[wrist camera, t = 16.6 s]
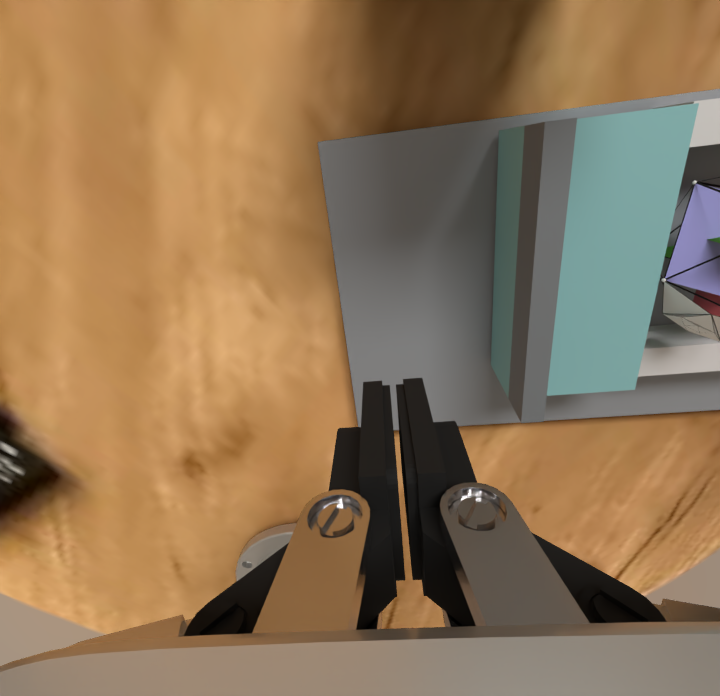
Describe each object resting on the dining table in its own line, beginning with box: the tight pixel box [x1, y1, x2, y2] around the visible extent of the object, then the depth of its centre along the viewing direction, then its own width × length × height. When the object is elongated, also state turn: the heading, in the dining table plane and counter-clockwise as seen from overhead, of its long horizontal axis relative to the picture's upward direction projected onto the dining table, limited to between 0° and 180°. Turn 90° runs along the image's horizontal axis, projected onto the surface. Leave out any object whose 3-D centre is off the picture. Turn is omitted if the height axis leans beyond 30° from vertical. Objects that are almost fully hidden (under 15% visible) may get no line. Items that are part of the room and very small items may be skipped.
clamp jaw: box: [491, 103, 699, 423], centre depth 18 cm, size 12×6×6 cm, turn 7°
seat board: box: [318, 89, 720, 430], centre depth 20 cm, size 17×24×4 cm
